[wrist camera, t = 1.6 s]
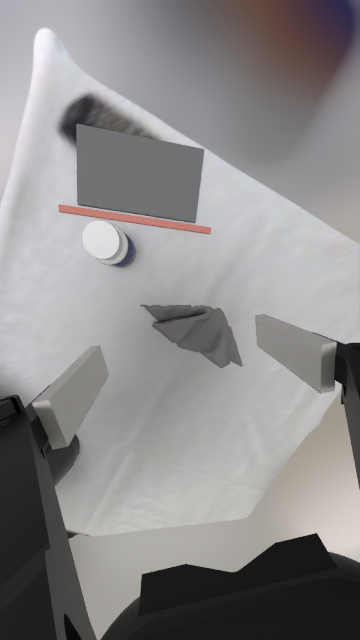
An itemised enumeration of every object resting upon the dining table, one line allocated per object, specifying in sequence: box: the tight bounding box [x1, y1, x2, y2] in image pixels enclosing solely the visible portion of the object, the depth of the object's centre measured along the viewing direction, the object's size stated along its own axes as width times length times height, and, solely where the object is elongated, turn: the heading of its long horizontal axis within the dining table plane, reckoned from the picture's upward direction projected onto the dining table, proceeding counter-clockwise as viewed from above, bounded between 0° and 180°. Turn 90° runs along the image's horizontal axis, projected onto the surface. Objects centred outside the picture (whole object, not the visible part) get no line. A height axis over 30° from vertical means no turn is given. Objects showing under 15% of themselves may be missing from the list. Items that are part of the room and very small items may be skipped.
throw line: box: [59, 205, 211, 234], centre depth 31 cm, size 26×1×1 cm, turn 84°
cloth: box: [141, 305, 243, 368], centre depth 37 cm, size 26×14×2 cm, turn 46°
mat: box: [77, 124, 204, 223], centre depth 30 cm, size 20×11×1 cm, turn 83°
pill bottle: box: [82, 220, 135, 267], centre depth 28 cm, size 6×6×10 cm
